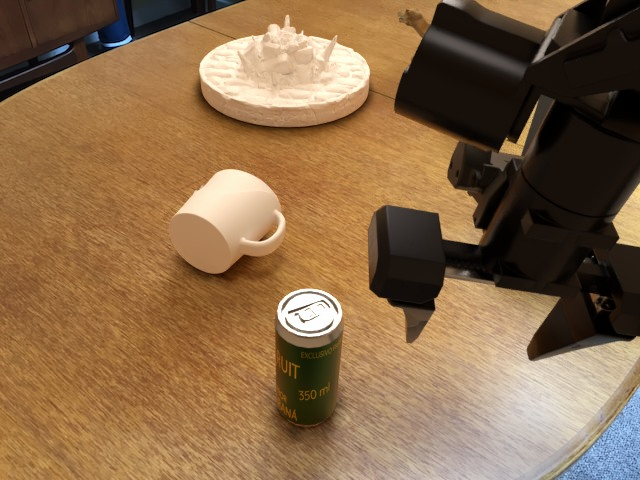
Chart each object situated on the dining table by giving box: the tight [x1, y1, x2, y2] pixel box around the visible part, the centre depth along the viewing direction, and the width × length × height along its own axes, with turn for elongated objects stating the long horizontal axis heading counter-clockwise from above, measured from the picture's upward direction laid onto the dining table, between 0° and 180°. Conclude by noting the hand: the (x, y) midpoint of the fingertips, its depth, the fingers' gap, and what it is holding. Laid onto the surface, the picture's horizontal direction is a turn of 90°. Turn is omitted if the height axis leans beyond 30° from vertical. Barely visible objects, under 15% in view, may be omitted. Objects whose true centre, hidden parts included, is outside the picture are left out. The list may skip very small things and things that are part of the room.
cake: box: [198, 14, 371, 128], centre depth 97 cm, size 28×28×10 cm
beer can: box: [274, 288, 345, 428], centre depth 49 cm, size 5×5×12 cm
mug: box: [168, 168, 287, 275], centre depth 66 cm, size 12×9×8 cm
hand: (469, 346), depth 43 cm, fingers open, 9 cm apart
